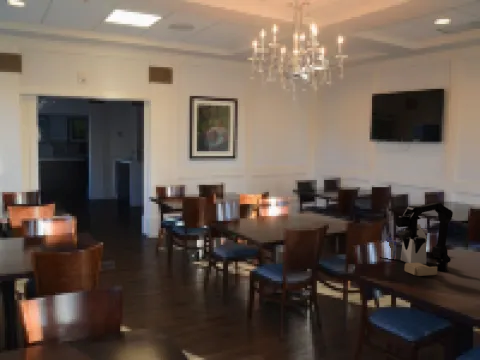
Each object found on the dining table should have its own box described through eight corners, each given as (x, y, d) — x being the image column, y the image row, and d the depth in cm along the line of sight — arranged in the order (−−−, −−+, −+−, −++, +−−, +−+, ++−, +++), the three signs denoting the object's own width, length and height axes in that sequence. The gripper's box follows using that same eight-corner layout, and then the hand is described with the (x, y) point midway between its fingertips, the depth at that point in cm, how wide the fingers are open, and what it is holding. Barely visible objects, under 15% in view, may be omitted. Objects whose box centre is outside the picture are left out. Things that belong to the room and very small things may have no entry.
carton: (417, 270, 292) (418, 262, 292) (428, 274, 283) (429, 266, 283) (404, 271, 289) (404, 263, 289) (414, 275, 280) (415, 267, 279)
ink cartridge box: (395, 258, 321) (397, 238, 320) (393, 260, 317) (394, 239, 316) (381, 256, 327) (383, 236, 326) (379, 257, 322) (380, 237, 321)
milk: (410, 264, 307) (412, 225, 305) (400, 260, 318) (402, 222, 316) (426, 263, 310) (428, 225, 308) (415, 259, 321) (418, 222, 319)
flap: (435, 274, 284) (436, 266, 284) (436, 274, 283) (437, 267, 283) (416, 275, 280) (416, 267, 279) (417, 276, 279) (417, 268, 278)
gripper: (391, 224, 290) (390, 248, 292) (411, 230, 273) (410, 255, 274) (406, 223, 294) (405, 247, 295) (427, 229, 276) (425, 254, 277)
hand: (411, 251), depth 285 cm, fingers open, 9 cm apart
